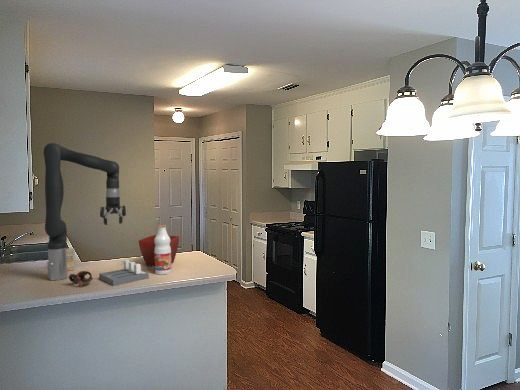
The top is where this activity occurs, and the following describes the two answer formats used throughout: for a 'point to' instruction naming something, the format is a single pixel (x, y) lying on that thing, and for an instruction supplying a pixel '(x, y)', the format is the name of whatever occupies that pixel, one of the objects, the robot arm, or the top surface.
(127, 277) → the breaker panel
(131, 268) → the breaker
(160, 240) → the fruit juice
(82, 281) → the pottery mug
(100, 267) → the top surface
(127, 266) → the block
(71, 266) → the supplement box
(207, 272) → the top surface
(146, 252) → the plant pot
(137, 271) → the breaker near
